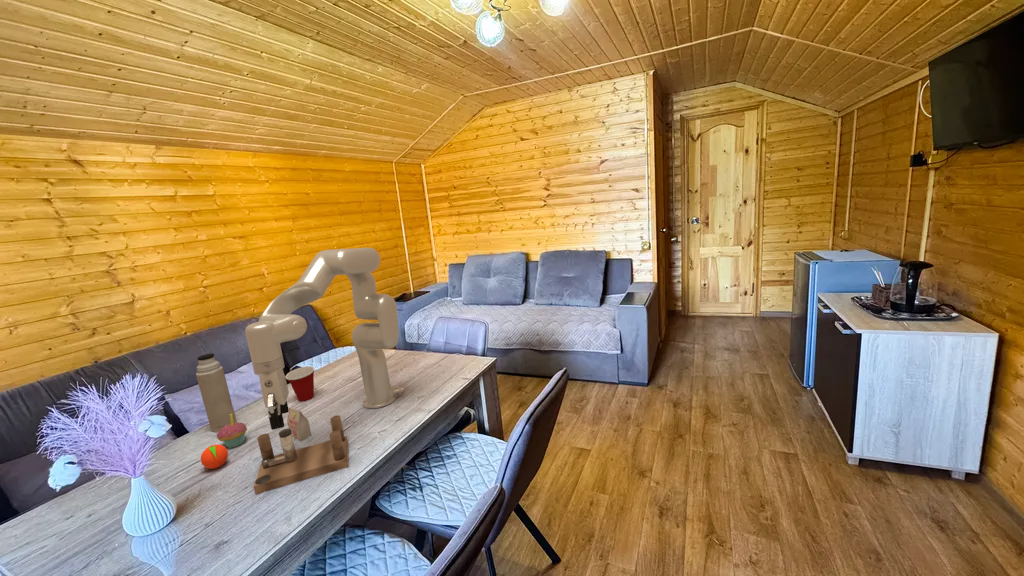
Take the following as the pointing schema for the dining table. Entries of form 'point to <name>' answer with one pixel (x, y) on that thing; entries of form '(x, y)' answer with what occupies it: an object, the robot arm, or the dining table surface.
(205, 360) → the thermos bottle
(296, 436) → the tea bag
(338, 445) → the stool seat
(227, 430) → the cupcake
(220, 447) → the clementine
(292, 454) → the stool leg
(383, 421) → the dining table surface
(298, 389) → the plastic cup
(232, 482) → the dining table surface
